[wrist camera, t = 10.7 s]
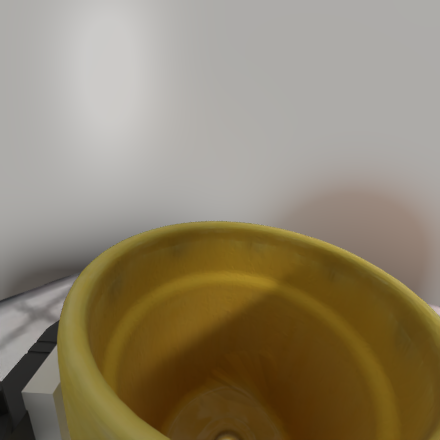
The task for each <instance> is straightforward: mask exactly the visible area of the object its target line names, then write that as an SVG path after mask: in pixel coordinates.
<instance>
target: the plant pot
mask: <svg viewBox="0 0 440 440" xmlns="http://www.w3.org/2000/svg"><path fill="white" fill-rule="evenodd" d="M57 354H58V365H59V373H60V382H61V390H62V396H63V402H64V408H65V414H66V419H67V425H68V429H69V433H70V438H71V440H222V439H229V440H440V317H439V316H438V314H437V313H436V312H435V311H434V310H433V309H432V308H431V307H430V306H429V305H428V304H427V303H426V302H424V301H423V300H422V299H421V298H420V297H419V296H417V295H416V294H415V293H414V292H412V291H411V290H410V289H409V288H408V287H407V286H405V285H404V284H402V283H401V282H399V281H398V280H397V279H396V278H394V277H393V276H391V275H389V274H388V273H386V272H385V271H383V270H382V269H380V268H378V267H376V266H375V265H373V264H371V263H369V262H368V261H366V260H364V259H362V258H360V257H358V256H356V255H354V254H353V253H350V252H348V251H346V250H344V249H341V248H339V247H337V246H334V245H332V244H329V243H327V242H324V241H321V240H318V239H316V238H312V237H309V236H306V235H302V234H299V233H296V232H292V231H288V230H284V229H280V228H275V227H269V226H264V225H257V224H251V223H241V222H227V221H205V222H190V223H181V224H175V225H169V226H165V227H160V228H156V229H153V230H149V231H146V232H143V233H140V234H138V235H135V236H132V237H130V238H127V239H125V240H123V241H121V242H119V243H117V244H116V245H114V246H112V247H110V248H109V249H107V250H106V251H104V252H103V253H101V254H100V255H99V256H98V257H97V258H95V259H94V260H93V261H92V262H91V263H90V264H89V265H88V266H87V267H86V268H85V269H84V270H83V271H82V272H81V274H80V275H79V276H78V278H77V279H76V280H75V282H74V284H73V286H72V287H71V289H70V291H69V293H68V295H67V297H66V299H65V301H64V305H63V308H62V312H61V316H60V320H59V327H58V335H57Z"/></svg>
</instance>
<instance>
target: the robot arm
mask: <svg viewBox="0 0 440 440" xmlns="http://www.w3.org/2000/svg"><path fill="white" fill-rule="evenodd" d="M58 327H59V321H57V322H56V323H54V324H53V325H52V326H50V327H49V328H47V329H46V331H45V332H44V333H43V334H42V335H41V336H40V338H39V339H38V340H37V342H36V343H34V345H33V346H32V347H31V348H30V349H29V350H28V353H27V354H25V355H24V356H23V357H22V358H21V360H20V361H19V362H18V363H17V364H16V365H15V367H14V368H13V369H12V370H11V371H10V372H9V374H8V375H7V376H6V377H5V378H4V379H3V381H2V382H0V440H71V438H70V433H69V429H68V425H67V419H66V414H65V408H64V402H63V396H62V390H61V382H60V373H59V365H58V354H57V335H58Z"/></svg>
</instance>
